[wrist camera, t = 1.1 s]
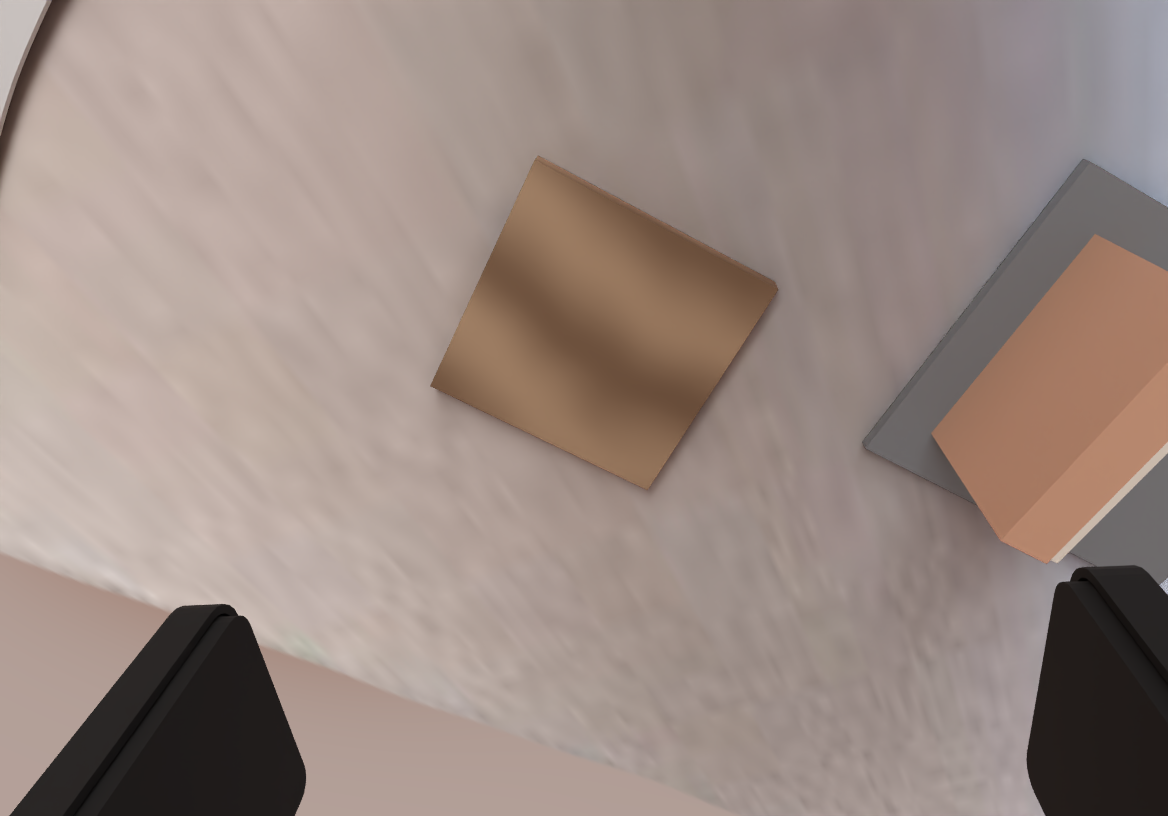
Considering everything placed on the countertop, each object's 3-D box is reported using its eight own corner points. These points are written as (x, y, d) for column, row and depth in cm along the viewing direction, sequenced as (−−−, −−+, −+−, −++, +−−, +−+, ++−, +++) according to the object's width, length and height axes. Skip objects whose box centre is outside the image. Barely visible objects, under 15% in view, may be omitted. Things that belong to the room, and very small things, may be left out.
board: (538, 155, 32) (534, 159, 31) (775, 282, 34) (778, 289, 33) (435, 377, 37) (430, 385, 36) (647, 479, 38) (647, 490, 37)
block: (1095, 233, 31) (1225, 300, 24) (1142, 261, 31) (1284, 335, 24) (931, 433, 35) (1000, 540, 28) (974, 455, 36) (1053, 567, 29)
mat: (1082, 159, 31) (1090, 161, 30) (1400, 347, 33) (1412, 353, 32) (862, 441, 37) (865, 448, 36) (1143, 585, 39) (1149, 593, 38)
